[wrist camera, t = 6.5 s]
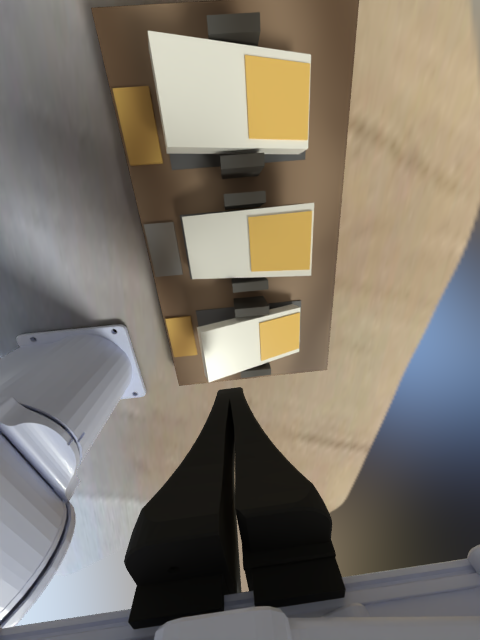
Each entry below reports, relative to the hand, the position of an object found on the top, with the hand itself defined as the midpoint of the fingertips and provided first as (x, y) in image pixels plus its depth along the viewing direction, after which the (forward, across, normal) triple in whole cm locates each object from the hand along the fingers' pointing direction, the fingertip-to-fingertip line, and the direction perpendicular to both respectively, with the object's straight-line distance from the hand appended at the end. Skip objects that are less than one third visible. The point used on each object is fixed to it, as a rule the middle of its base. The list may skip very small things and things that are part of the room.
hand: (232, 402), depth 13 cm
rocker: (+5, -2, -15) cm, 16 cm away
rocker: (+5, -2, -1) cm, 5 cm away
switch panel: (+9, -2, -8) cm, 12 cm away
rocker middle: (+5, -2, -8) cm, 10 cm away
